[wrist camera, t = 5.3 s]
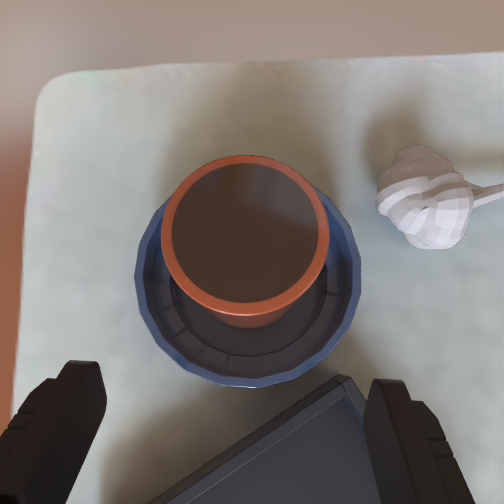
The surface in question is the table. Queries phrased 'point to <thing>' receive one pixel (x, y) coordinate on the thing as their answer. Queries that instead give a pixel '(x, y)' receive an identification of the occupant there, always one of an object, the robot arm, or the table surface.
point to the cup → (245, 239)
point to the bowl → (250, 341)
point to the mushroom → (429, 198)
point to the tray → (292, 457)
